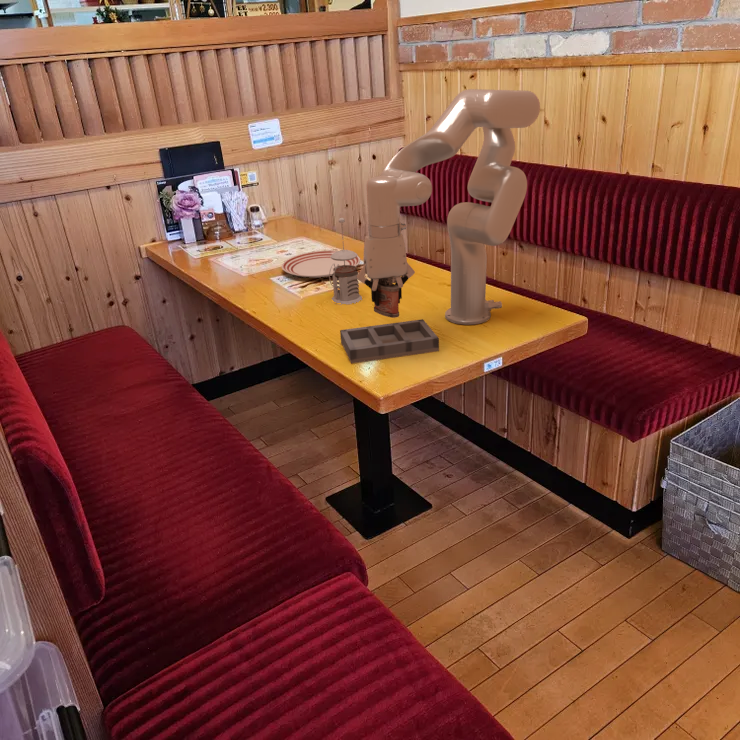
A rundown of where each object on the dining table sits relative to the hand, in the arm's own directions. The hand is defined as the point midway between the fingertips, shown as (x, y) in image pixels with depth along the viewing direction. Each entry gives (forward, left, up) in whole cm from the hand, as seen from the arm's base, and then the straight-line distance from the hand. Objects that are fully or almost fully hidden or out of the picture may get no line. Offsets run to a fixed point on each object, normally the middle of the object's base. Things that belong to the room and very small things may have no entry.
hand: (386, 302), depth 167 cm
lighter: (0, 0, -3) cm, 3 cm away
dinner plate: (+6, -72, -13) cm, 73 cm away
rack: (0, 0, -12) cm, 12 cm away
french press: (+4, -39, -12) cm, 41 cm away
